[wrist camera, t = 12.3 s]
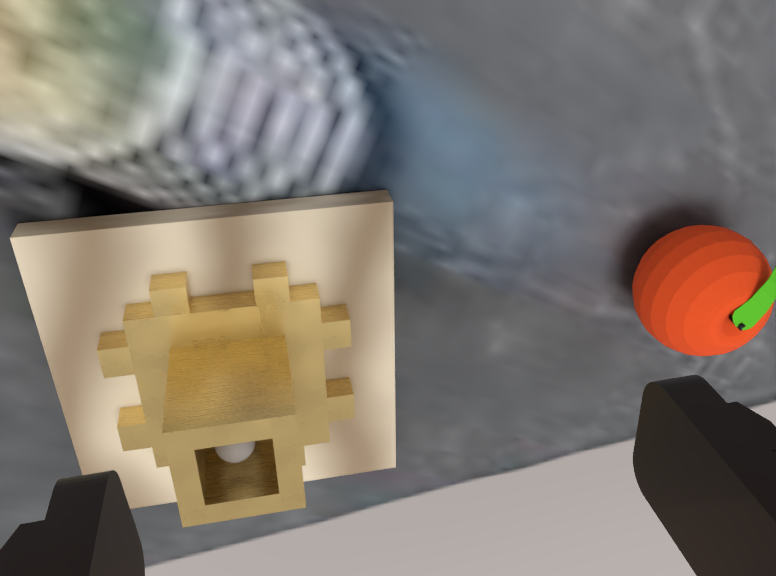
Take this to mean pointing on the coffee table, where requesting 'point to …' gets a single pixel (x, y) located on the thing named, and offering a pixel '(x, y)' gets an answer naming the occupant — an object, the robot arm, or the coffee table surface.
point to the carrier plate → (208, 277)
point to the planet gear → (230, 388)
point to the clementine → (704, 290)
